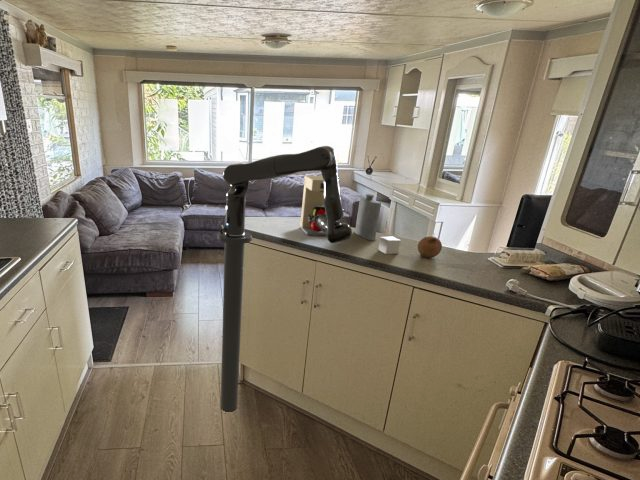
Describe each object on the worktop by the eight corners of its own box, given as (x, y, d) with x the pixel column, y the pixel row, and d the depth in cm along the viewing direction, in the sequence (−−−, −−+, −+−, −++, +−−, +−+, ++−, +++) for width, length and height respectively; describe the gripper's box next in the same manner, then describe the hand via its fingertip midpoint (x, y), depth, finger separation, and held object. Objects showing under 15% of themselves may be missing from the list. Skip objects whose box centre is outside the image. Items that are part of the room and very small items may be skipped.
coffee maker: (333, 235, 208) (340, 180, 198) (307, 235, 207) (313, 180, 196) (324, 227, 221) (330, 176, 211) (299, 227, 220) (305, 175, 209)
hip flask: (376, 240, 203) (383, 197, 195) (368, 240, 202) (375, 198, 194) (359, 231, 217) (365, 191, 209) (352, 231, 216) (358, 191, 208)
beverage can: (323, 228, 215) (326, 204, 210) (324, 231, 209) (327, 207, 204) (310, 227, 216) (313, 203, 211) (311, 230, 210) (313, 206, 205)
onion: (429, 266, 180) (437, 248, 173) (410, 255, 185) (416, 237, 177) (442, 254, 184) (449, 237, 177) (422, 244, 189) (429, 227, 181)
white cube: (378, 250, 189) (380, 236, 187) (390, 249, 190) (392, 236, 188) (385, 254, 184) (388, 240, 181) (398, 253, 185) (400, 240, 183)
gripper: (343, 216, 196) (332, 208, 211) (313, 215, 194) (303, 207, 210) (341, 232, 199) (330, 223, 214) (311, 231, 197) (302, 223, 213)
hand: (317, 215), depth 212 cm, fingers closed on beverage can, 6 cm apart
